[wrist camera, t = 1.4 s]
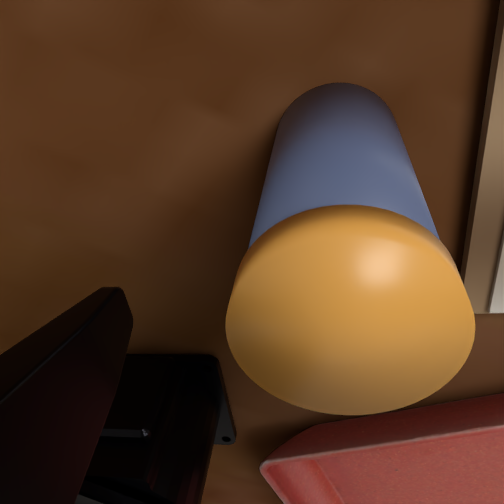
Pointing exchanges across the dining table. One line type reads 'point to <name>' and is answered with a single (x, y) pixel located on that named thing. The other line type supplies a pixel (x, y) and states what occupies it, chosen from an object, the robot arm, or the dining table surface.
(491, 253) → the clipboard
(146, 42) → the dining table surface
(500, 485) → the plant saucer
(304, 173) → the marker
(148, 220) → the dining table surface
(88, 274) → the dining table surface
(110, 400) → the robot arm
